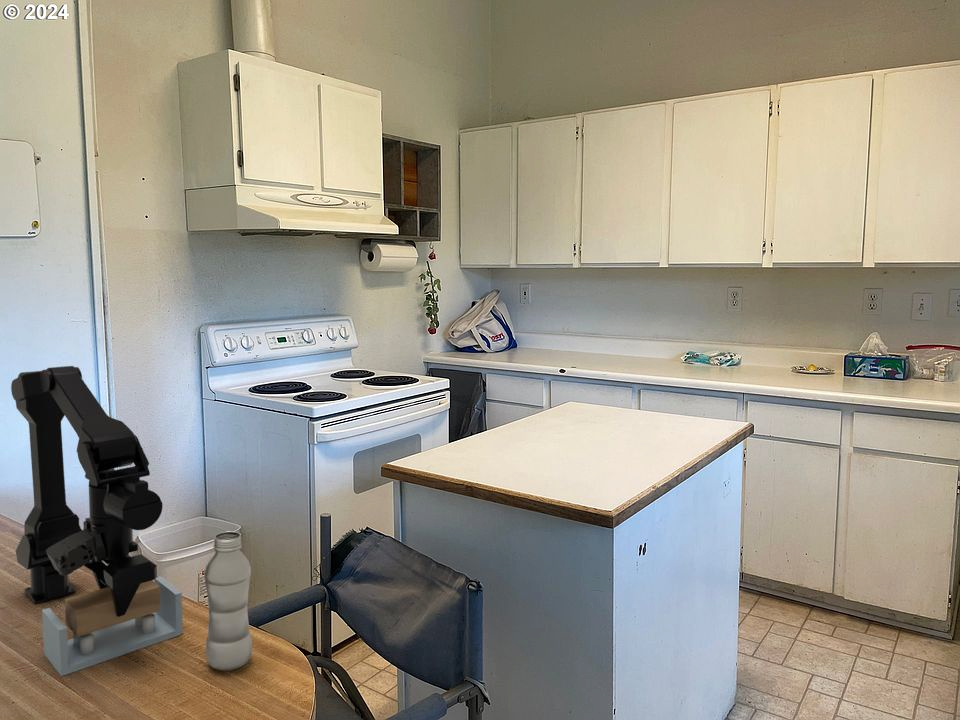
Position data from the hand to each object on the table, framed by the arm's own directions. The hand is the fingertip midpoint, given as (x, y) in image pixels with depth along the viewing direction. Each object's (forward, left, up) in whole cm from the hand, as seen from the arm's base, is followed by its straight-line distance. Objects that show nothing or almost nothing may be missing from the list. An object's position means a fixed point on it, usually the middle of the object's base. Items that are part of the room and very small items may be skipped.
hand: (114, 609), depth 111 cm
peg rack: (0, 0, -6) cm, 6 cm away
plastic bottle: (+17, +10, -6) cm, 21 cm away
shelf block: (0, 0, -1) cm, 1 cm away
